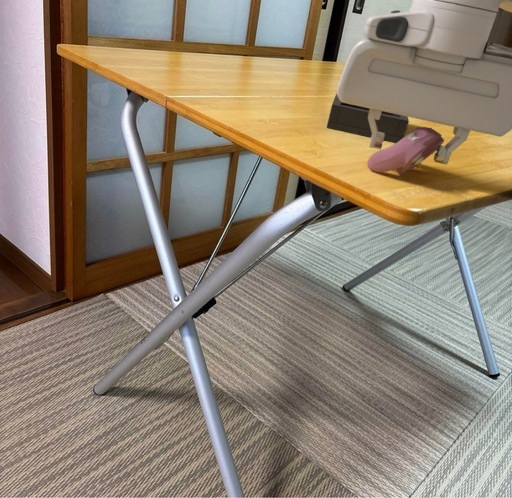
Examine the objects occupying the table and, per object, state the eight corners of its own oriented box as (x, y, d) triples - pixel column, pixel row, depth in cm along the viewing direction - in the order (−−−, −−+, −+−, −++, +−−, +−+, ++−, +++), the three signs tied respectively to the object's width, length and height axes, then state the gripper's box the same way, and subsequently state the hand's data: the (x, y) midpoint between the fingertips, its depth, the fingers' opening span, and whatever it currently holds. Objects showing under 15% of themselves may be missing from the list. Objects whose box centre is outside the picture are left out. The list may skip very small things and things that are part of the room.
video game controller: (387, 191, 60) (429, 149, 56) (361, 164, 61) (401, 120, 57) (417, 177, 68) (457, 138, 64) (394, 152, 69) (431, 112, 65)
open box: (397, 122, 90) (403, 102, 88) (401, 144, 76) (409, 120, 75) (333, 108, 91) (338, 88, 89) (326, 127, 77) (332, 104, 76)
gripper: (534, 50, 58) (487, 166, 64) (355, 15, 60) (328, 130, 66) (551, 56, 52) (498, 182, 59) (353, 16, 55) (323, 142, 61)
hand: (406, 154), depth 63 cm, fingers closed on video game controller, 6 cm apart
